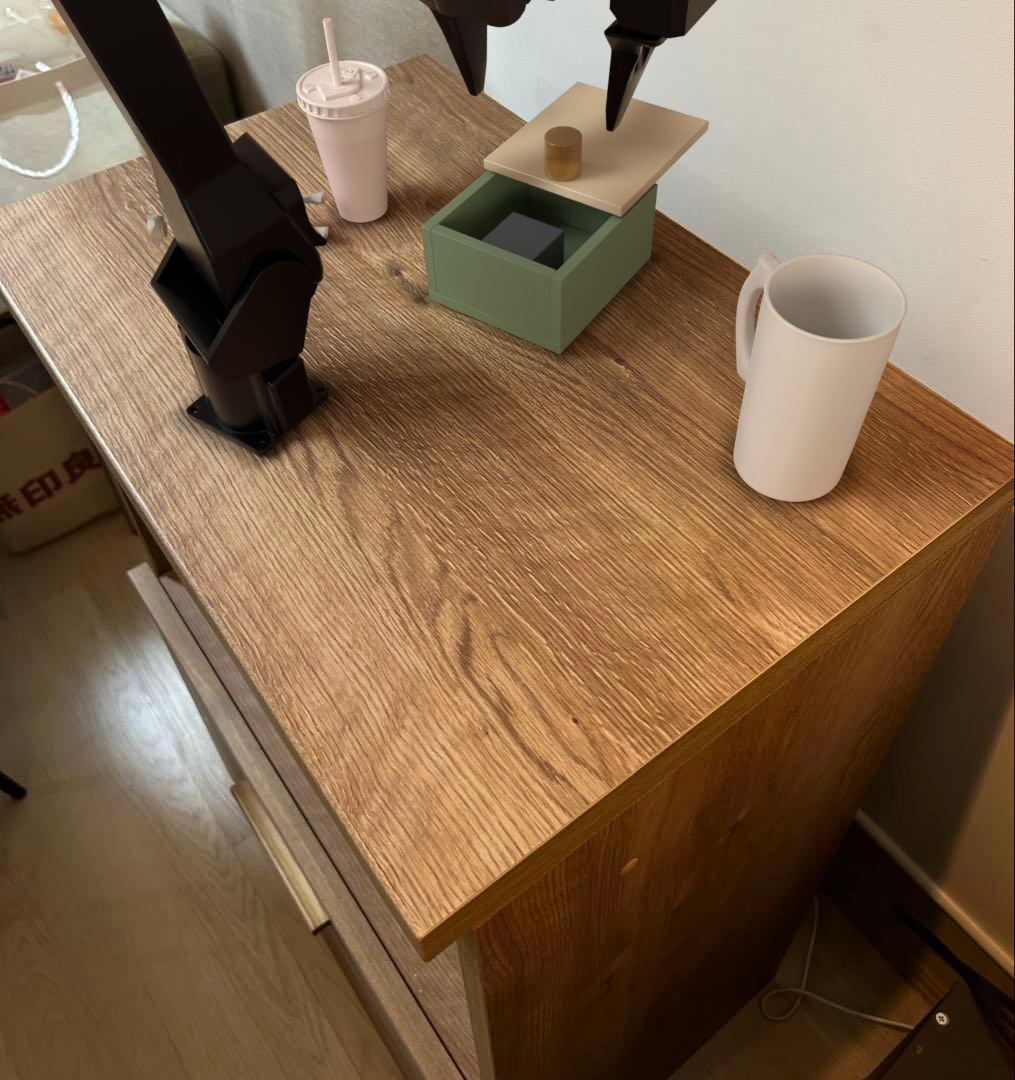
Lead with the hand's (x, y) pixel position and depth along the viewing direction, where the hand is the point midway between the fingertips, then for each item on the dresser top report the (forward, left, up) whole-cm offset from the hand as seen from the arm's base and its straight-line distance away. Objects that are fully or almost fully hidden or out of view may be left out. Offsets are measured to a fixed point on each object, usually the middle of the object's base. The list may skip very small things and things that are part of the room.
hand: (543, 110), depth 59 cm
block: (0, -2, -11) cm, 12 cm away
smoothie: (-16, 0, -12) cm, 20 cm away
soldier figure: (-20, -8, -12) cm, 25 cm away
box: (0, 0, -12) cm, 12 cm away
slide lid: (0, +7, -6) cm, 9 cm away
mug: (+20, -6, -12) cm, 24 cm away
